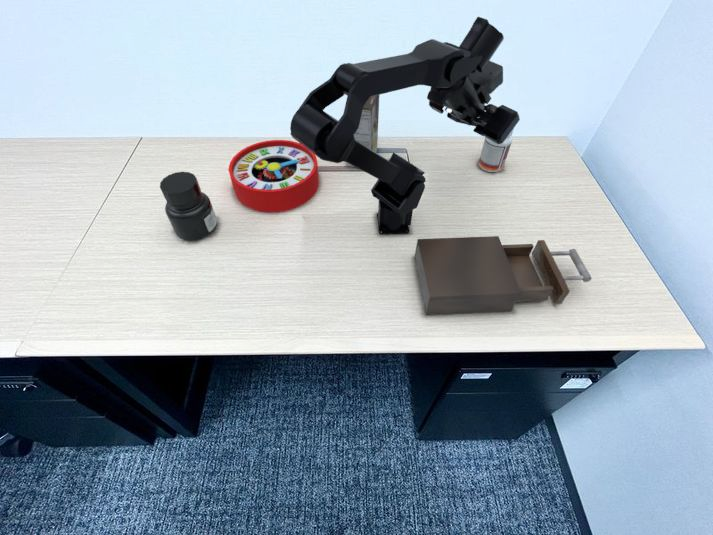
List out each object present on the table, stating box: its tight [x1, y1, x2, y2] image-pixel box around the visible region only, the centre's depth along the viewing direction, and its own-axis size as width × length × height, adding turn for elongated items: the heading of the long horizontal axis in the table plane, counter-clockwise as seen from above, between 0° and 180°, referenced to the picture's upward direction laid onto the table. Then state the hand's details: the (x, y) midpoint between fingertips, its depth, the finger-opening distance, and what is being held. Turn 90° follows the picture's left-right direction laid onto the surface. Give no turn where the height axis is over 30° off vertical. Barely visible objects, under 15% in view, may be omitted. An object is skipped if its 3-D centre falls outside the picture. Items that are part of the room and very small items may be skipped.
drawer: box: [502, 239, 593, 305], centre depth 74 cm, size 20×12×4 cm, turn 93°
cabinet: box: [413, 235, 521, 316], centre depth 73 cm, size 16×14×6 cm
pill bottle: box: [478, 127, 515, 173], centre depth 96 cm, size 6×6×11 cm
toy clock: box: [228, 139, 320, 214], centre depth 93 cm, size 20×6×20 cm
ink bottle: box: [159, 171, 219, 242], centre depth 81 cm, size 10×9×12 cm
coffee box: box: [346, 95, 380, 168], centre depth 96 cm, size 9×6×16 cm
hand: (483, 127), depth 86 cm, fingers open, 3 cm apart
